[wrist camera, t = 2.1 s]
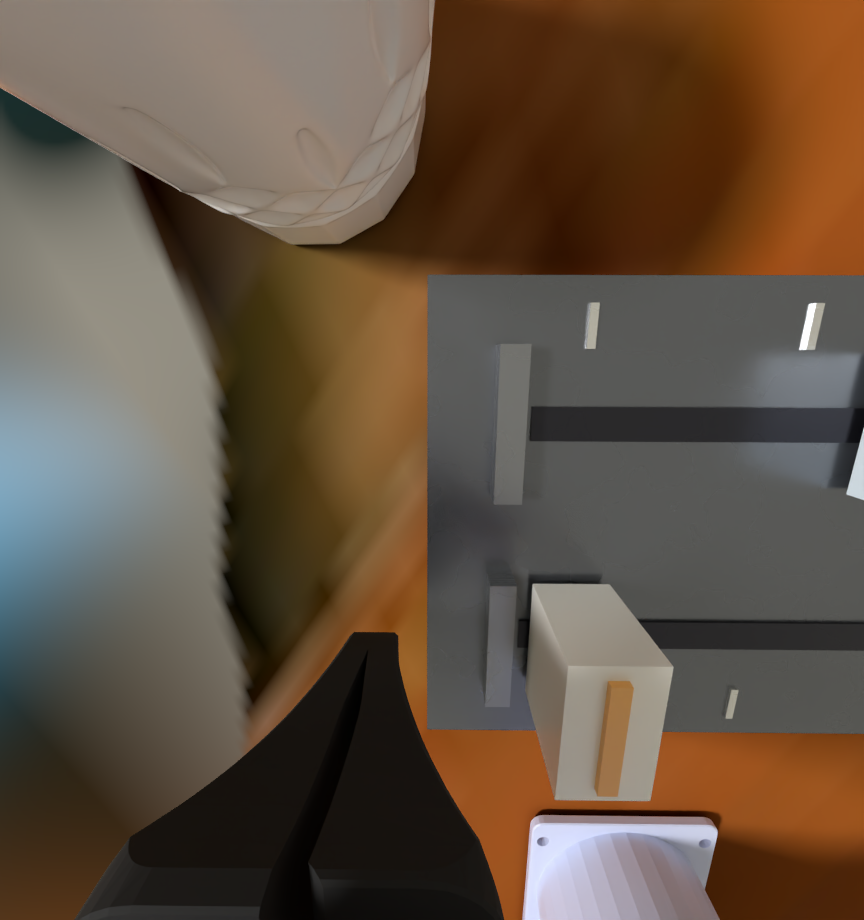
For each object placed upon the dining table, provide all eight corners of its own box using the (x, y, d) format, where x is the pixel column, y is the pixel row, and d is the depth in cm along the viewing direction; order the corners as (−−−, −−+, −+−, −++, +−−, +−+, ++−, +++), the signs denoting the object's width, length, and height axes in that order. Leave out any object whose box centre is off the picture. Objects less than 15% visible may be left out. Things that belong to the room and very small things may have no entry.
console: (951, 690, 16) (1056, 756, 13) (428, 685, 16) (426, 750, 14) (1103, 289, 13) (1287, 269, 10) (428, 287, 13) (427, 268, 10)
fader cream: (596, 690, 14) (654, 809, 10) (525, 689, 14) (556, 808, 10) (609, 584, 13) (678, 673, 9) (532, 583, 13) (571, 672, 9)
